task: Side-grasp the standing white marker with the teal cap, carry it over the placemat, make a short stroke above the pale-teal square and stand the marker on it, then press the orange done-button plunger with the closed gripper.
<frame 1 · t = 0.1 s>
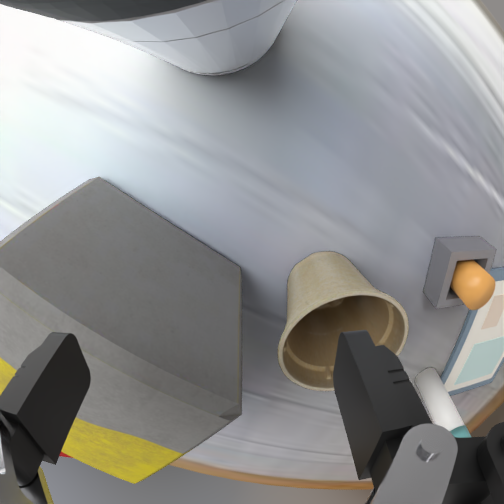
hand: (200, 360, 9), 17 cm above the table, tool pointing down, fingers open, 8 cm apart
marker: (425, 376, 36), on the table
emergency stop button: (114, 313, 30), on the table
flower pot: (321, 280, 28), on the table
done button: (470, 281, 25), point 4 cm above the table, slide at 0.0 cm
placemat: (489, 336, 33), on the table
button housing: (452, 263, 28), on the table
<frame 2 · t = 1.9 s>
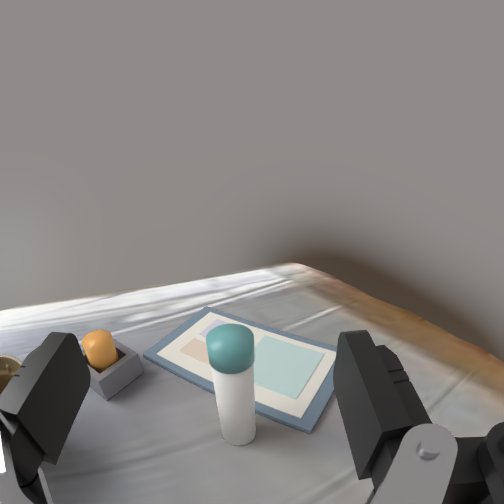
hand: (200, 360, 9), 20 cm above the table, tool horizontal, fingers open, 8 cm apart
marker: (238, 432, 27), on the table
flower pot: (28, 444, 22), on the table
done button: (101, 353, 32), point 3 cm above the table, slide at 0.0 cm
placemat: (246, 359, 37), on the table
button housing: (110, 375, 34), on the table
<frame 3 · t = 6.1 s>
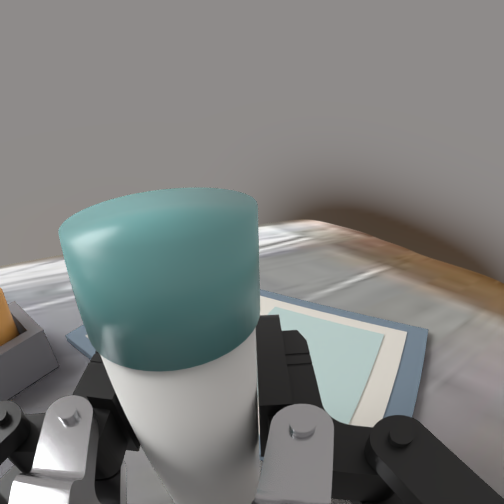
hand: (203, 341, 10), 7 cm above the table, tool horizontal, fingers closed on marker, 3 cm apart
placemat: (241, 349, 20), on the table
button housing: (11, 367, 17), on the table
when the fingers open (8 cm above the table, at t = 11.1 s): marker stays where it is, resting on placemat.
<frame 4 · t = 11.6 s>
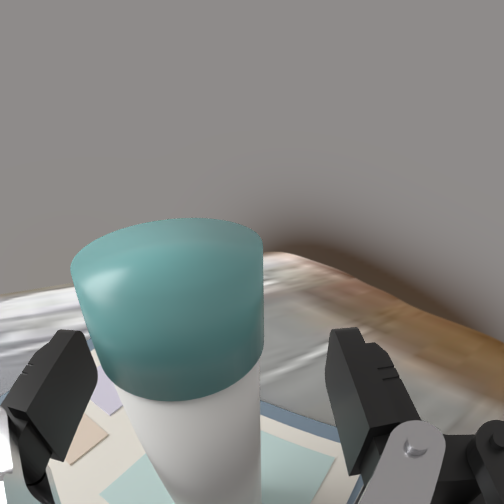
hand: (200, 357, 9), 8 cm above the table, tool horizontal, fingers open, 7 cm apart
placemat: (149, 459, 13), on the table
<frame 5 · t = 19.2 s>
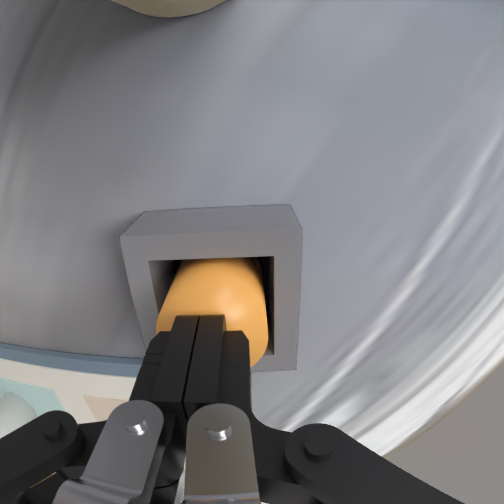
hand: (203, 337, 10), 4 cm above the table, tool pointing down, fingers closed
marker: (20, 406, 18), point 1 cm above the table, touching placemat
done button: (216, 304, 12), point 2 cm above the table, slide at 1.0 cm, touching gripper
placemat: (75, 416, 19), on the table
button housing: (220, 274, 14), on the table
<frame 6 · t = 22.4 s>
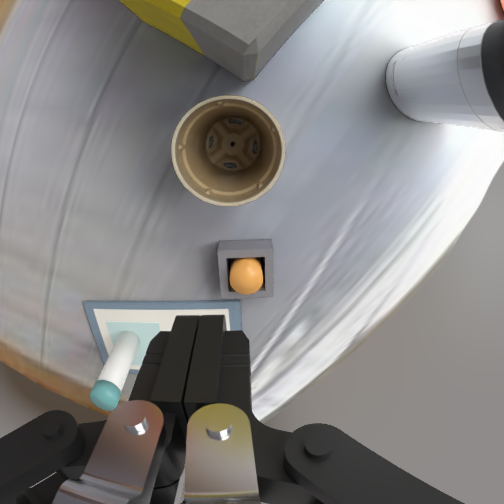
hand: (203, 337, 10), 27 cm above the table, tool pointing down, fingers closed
marker: (129, 339, 42), point 1 cm above the table, touching placemat
flower pot: (232, 144, 33), on the table
done button: (246, 271, 37), point 2 cm above the table, slide at 1.3 cm
placemat: (164, 340, 43), on the table
button housing: (246, 263, 39), on the table
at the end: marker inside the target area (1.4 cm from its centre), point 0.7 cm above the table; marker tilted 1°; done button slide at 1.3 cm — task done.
